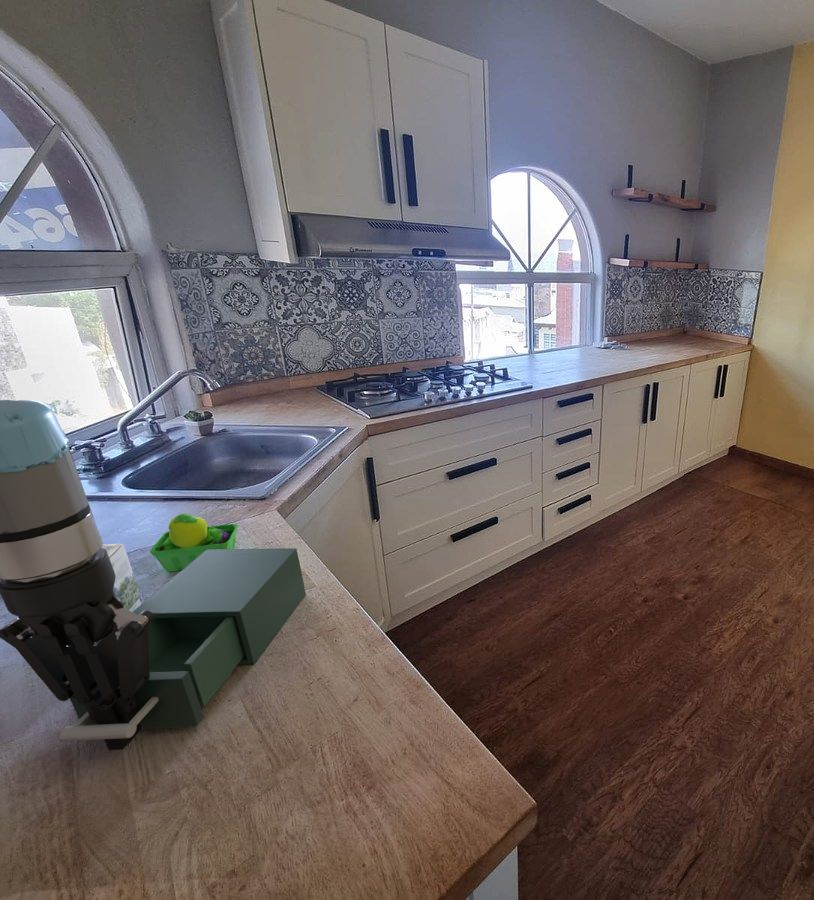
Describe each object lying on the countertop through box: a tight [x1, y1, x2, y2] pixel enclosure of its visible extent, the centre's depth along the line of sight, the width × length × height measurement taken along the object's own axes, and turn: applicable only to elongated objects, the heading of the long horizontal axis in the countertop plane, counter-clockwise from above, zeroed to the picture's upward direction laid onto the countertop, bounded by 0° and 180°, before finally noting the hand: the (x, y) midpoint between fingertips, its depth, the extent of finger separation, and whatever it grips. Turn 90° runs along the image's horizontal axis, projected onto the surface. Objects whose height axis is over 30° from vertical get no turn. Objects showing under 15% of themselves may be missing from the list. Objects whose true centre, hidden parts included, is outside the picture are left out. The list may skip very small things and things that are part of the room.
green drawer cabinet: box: [133, 547, 307, 666], centre depth 74 cm, size 16×14×9 cm
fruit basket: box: [149, 513, 239, 573], centre depth 89 cm, size 11×9×11 cm
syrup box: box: [102, 543, 144, 640], centre depth 70 cm, size 6×6×14 cm
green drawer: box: [58, 616, 245, 742], centre depth 62 cm, size 19×12×7 cm, turn 5°
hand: (125, 738), depth 57 cm, fingers closed
